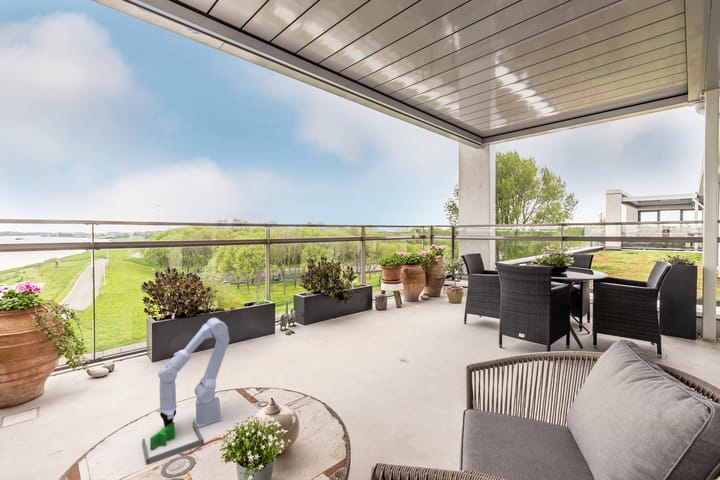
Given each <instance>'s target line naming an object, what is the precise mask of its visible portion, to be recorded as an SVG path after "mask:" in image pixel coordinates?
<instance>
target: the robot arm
mask: <svg viewBox="0 0 720 480" xmlns="http://www.w3.org/2000/svg"><path fill="white" fill-rule="evenodd" d="M228 329H229V327H228V326H227V324H226V323H225V322H224V321H223V320H222V321H221V320H220V318H218V317H211V318H209V319H208V320H207V321H206V323H204V324H203V325H202V326H201V328H200V329H199V330H198V332H197V333H196V334H195V335H194V337H192V339H191V340H190V341H189V342H188V344H187V345H186V346H185V347H184V349H183V348H182V349H180V350H178V351H177V352H175V353H173V357H172V358H171V359H170V360H169V361H168V362H166V363H165V364H164V366H162V367H161V368H160V369H159V371H158V373H157V376H158V378H159V407H158V408H157V409H156V413H159V415H160V417H161V419H162V421H163V426H164V428H165V427H166V426H167V425H169V424H170V423H171V422H174V418H175V416H176V414H177V409H176V408H178V407H177V397H176V396H177V395H176V389H177V387H176V386H177V385H176V379H177V378H178V373H179V372H180V371H181V370H182V369H183V368H184V366H186V364H187V363H188V362H189V361H190V359H191V354H192V353H193V352H194V351H195V350H196V349H197V348H198V347H199V346H200V344H202V343H203V341H205V340H206V339H211V338H214V339H215V345H214V347H213V350H212V353H211V355H210V359H209V361H208V362H207V363H208V364H207V365H206V366H207V367H206V369H205V372H204V374H203V376H202V378H200V379H199V380H200V381H199V383H198V384H197V385H196V386H195V388H194V394H195V396H196V397H197V398H196V400H195V418H194V419H193V423H194V422H195V424H196V426H197V428H198V429H199V428H202V427H205V426H207V425H211V424H215V423H217V422H220V421H221V420H222V418H221V401H220V398H219V396H217V397H216V392H215V391H216V388H217V387H216V386H217V384H216V381H217V377H218V374H219V371H220V368H221V365H222V362H223V360H224V356H225V354H226V351H227V348H228V346H229V343H230V339H231V338H230V334H229V330H228Z"/></svg>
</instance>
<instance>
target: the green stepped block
mask: <svg viewBox="0 0 720 480" xmlns="http://www.w3.org/2000/svg"><path fill="white" fill-rule="evenodd" d="M175 425H176V423H175V422H174V421H173V422H171V423H170V424H169V425H167V426H166V427H165V426H164V427H163V428H161V430H159V431H157V432H156V433H155V434H154V435H152V436H151V437H150V439H149V440H150V441H149V442H150V443H149V445H150V450H151V451H153V450H155V449H156V448H158V446H162V447H166V446H167V442H168V441H170V440H174V439H175V437H176V435H175V433H176V432H175V431H176V430H175V429H176V427H175Z"/></svg>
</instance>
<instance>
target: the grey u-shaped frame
mask: <svg viewBox="0 0 720 480" xmlns="http://www.w3.org/2000/svg"><path fill="white" fill-rule="evenodd" d="M192 429H193V431H194V433H195V435H196V437H197V439H198V440H195V441H192V442H189V443H186V444H184V445H181V446H177V447H175V448H173V449H170V450H167V451H164V452H160V453H158V454H155V455H153V456H149V452H148V447H147V443H146V439H145V438H142V442H141V443H142V448H143V449H142V450H143V454H144V458H145V465H150V464H153V463H156V462H158V461H160V460H163V459H166V458H167V459H168V458H169V457H171V456H175V455H178V454H180V453H183V452H186V451H189V450H191V449H194V448H197V447H200V446H202V445H204V443H205V441H204V438H203V436H202V434H201V432H200V430H199V428H197V426H196V424H195V422H194V421H193V422H192Z"/></svg>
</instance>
